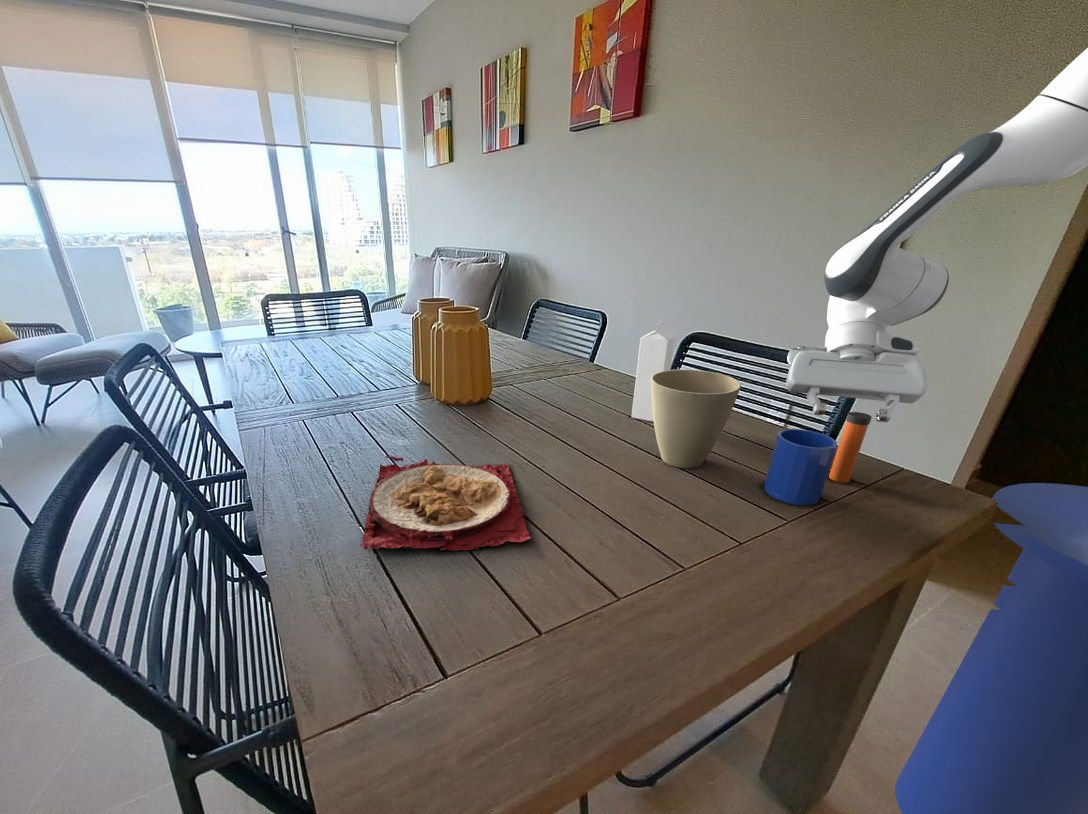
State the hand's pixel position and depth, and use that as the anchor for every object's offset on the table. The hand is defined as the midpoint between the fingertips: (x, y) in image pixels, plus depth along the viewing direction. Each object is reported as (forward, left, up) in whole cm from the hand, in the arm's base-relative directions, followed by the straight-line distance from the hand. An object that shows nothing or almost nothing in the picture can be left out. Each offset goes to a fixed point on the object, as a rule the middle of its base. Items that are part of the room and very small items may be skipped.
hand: (850, 417), depth 83 cm
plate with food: (+67, +25, -10) cm, 72 cm away
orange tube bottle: (+1, +4, -10) cm, 11 cm away
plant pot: (+27, +1, -10) cm, 29 cm away
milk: (+31, -23, -10) cm, 40 cm away
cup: (+11, +11, -10) cm, 19 cm away
